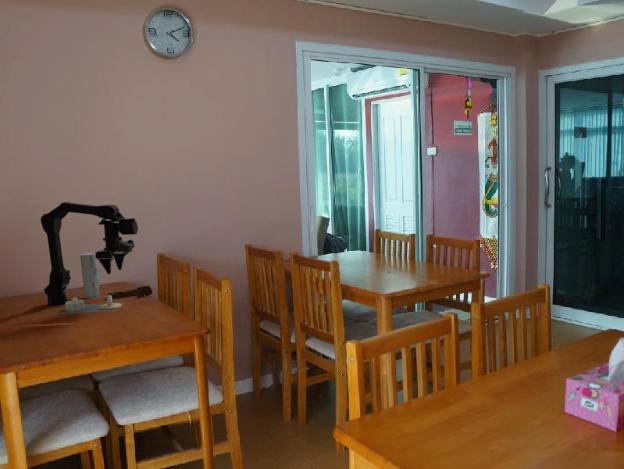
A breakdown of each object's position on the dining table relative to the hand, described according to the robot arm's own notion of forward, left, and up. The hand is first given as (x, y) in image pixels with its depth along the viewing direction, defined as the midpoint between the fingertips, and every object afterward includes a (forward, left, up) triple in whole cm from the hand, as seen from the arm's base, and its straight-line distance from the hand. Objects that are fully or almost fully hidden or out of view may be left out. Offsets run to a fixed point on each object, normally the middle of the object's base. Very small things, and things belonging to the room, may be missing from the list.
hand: (114, 272), depth 238 cm
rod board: (-7, -10, -14) cm, 18 cm away
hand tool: (+2, +11, -14) cm, 18 cm away
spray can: (-16, +14, -14) cm, 26 cm away
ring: (-14, -10, -13) cm, 21 cm away
